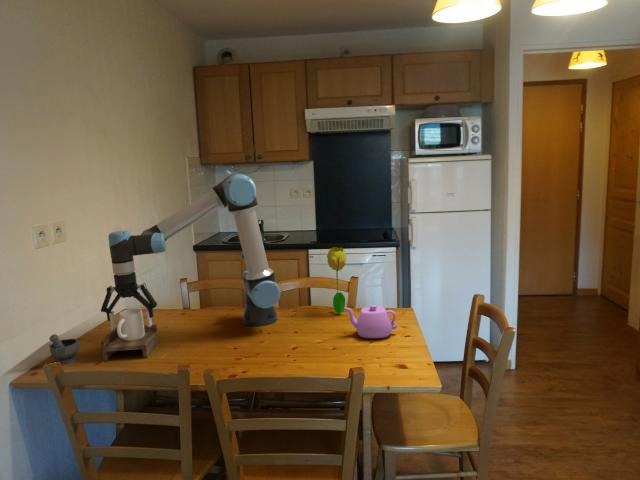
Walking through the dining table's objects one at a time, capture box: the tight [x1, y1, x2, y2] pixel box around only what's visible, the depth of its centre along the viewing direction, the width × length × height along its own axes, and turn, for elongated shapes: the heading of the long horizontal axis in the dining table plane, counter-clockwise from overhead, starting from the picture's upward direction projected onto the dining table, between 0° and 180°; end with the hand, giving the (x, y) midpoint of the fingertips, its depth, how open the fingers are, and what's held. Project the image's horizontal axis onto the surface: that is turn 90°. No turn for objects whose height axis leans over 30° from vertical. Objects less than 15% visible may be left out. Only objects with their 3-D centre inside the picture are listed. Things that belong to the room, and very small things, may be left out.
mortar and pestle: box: [48, 333, 80, 366], centre depth 177 cm, size 11×9×12 cm
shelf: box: [100, 324, 160, 362], centre depth 184 cm, size 16×15×8 cm
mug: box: [116, 308, 145, 341], centre depth 182 cm, size 12×8×10 cm
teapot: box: [344, 304, 398, 339], centre depth 186 cm, size 20×13×12 cm, turn 84°
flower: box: [326, 246, 347, 315], centre depth 211 cm, size 9×8×30 cm
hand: (132, 327), depth 182 cm, fingers open, 13 cm apart
